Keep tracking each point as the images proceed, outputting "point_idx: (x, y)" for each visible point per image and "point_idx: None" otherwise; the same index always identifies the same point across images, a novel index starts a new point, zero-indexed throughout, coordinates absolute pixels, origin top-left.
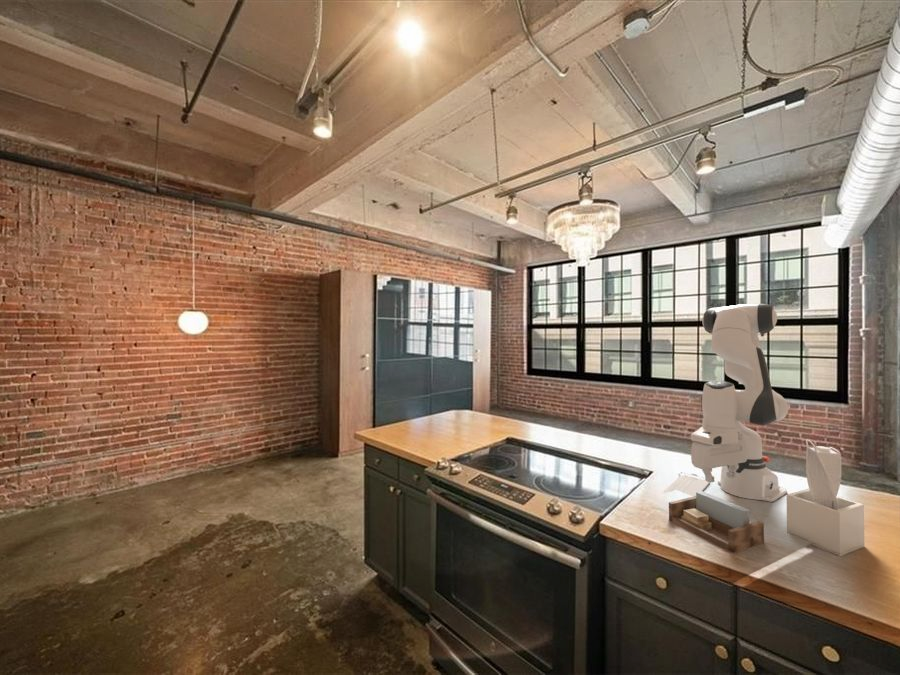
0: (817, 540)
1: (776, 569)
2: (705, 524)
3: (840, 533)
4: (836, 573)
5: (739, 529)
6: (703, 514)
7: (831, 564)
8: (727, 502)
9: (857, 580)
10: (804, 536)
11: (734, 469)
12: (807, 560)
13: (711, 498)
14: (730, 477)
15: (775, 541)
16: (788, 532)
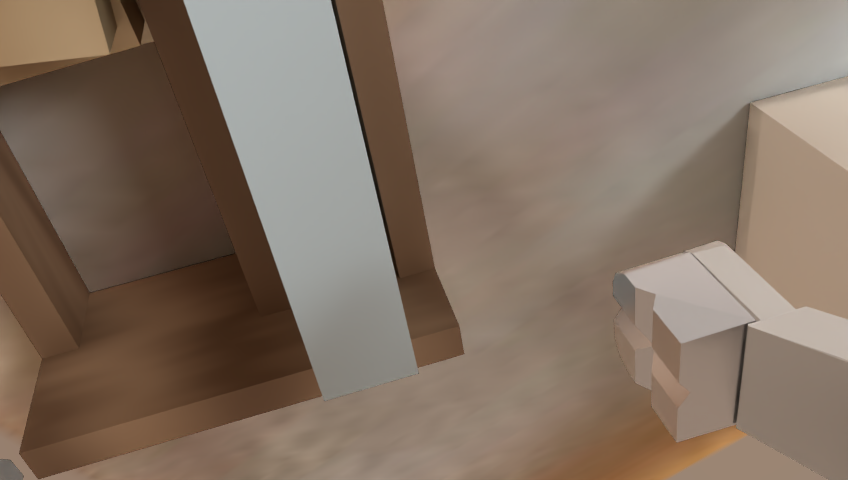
0: (759, 271)
1: (261, 417)
2: (42, 65)
3: None
4: (533, 435)
5: (143, 441)
6: (64, 11)
7: (598, 381)
8: (341, 208)
9: (560, 470)
10: (761, 209)
11: (814, 453)
12: (522, 353)
13: (210, 68)
14: (621, 331)
15: (567, 175)
16: (758, 118)
